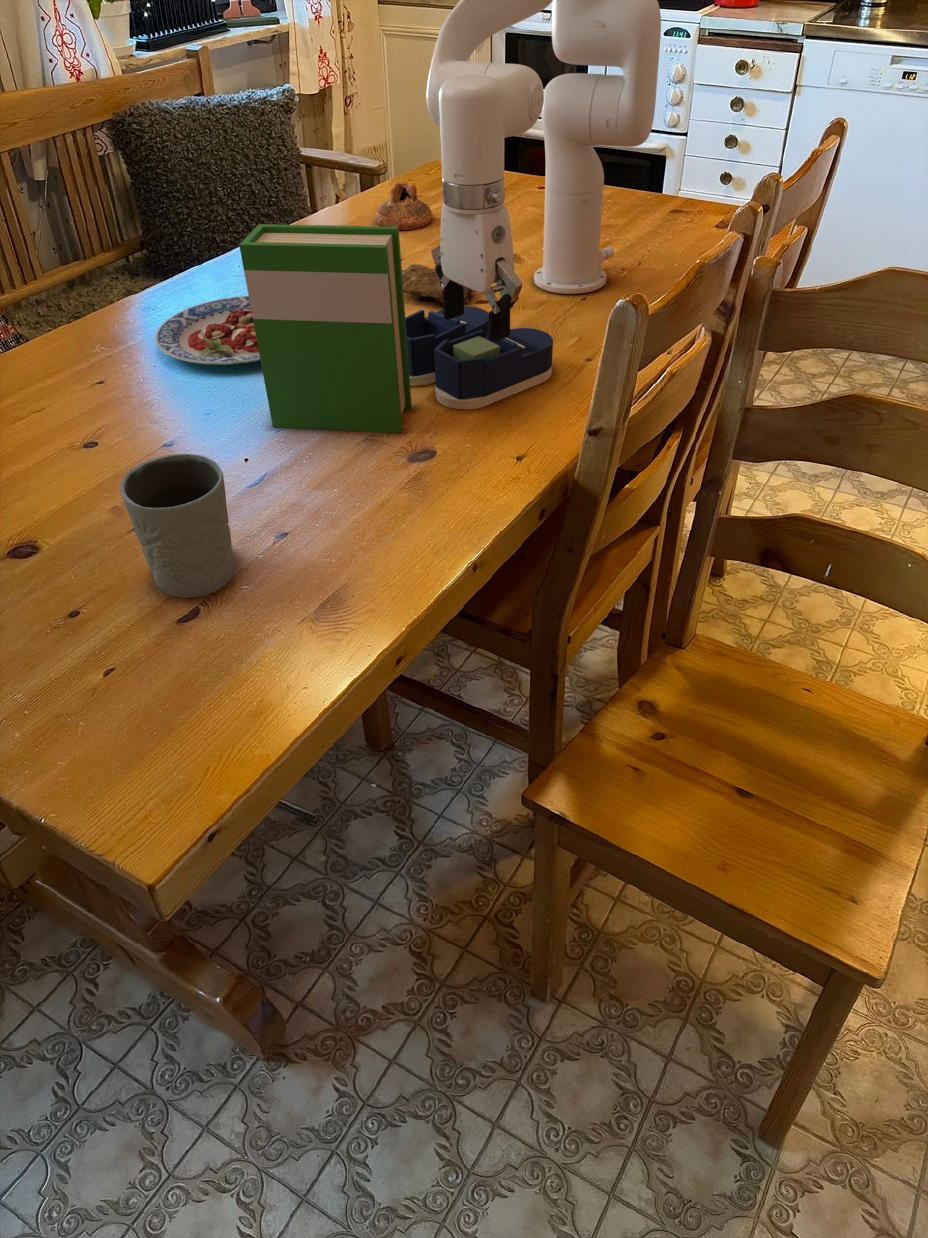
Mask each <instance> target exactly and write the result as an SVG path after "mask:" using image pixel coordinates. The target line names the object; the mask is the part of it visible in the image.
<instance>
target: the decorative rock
mask: <svg viewBox="0 0 928 1238" xmlns="http://www.w3.org/2000/svg"><path fill="white" fill-rule="evenodd" d="M402 280H403V293H408V294H411V295H412V296H417V297H419V298H422V299H423V298H424V297H430V298H433V299H434V300H437V301H438V302H441V304H443V292H442V291H443V290H444V289H443V290H442V289H441V288H440V286H439V282H440V279H439V277H438V275H437V273H436V271H435V268H433V267H429V266H426V265H424V264H419V263H418V264H417V263H414V264H410V265H409V266H408V267H407V268H406V269H402ZM459 285H461V284H459ZM463 289H464V305H466V304H468V303H469V300H471V299H472V292H473V290H472V289H470V288H467V287H465V286H463Z"/></svg>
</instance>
